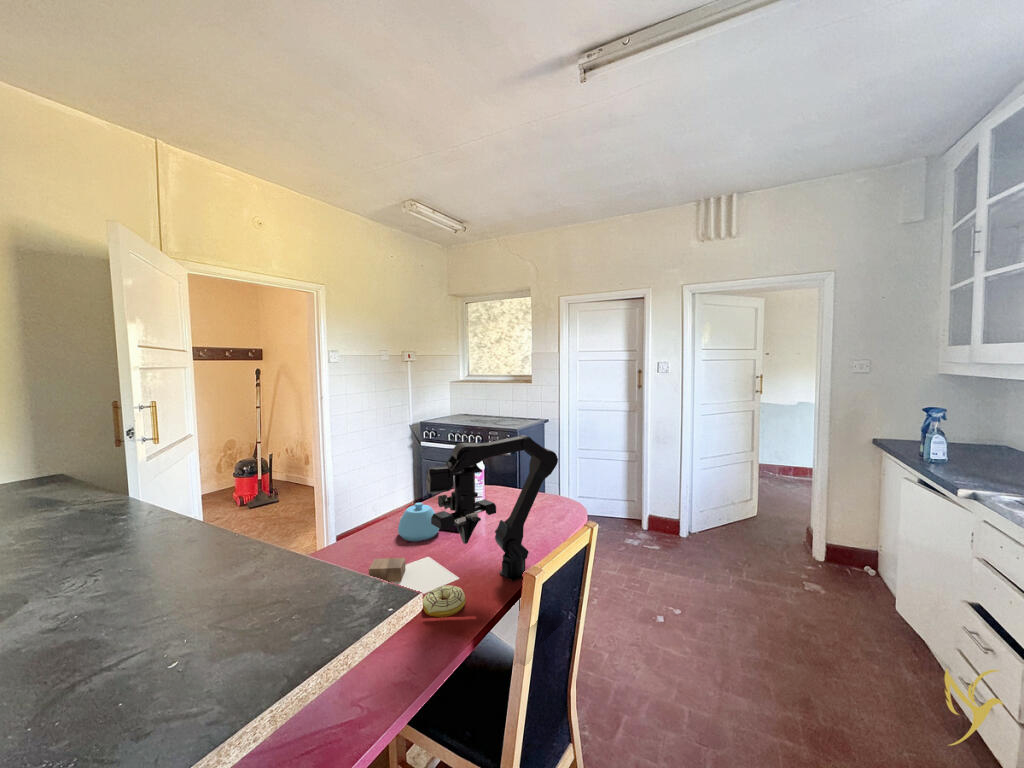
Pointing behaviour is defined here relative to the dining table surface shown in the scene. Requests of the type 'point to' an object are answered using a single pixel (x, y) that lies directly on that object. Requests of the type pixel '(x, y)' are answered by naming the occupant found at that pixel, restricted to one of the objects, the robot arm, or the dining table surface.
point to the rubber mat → (426, 575)
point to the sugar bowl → (417, 523)
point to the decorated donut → (444, 601)
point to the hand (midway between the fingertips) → (465, 543)
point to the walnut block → (388, 569)
